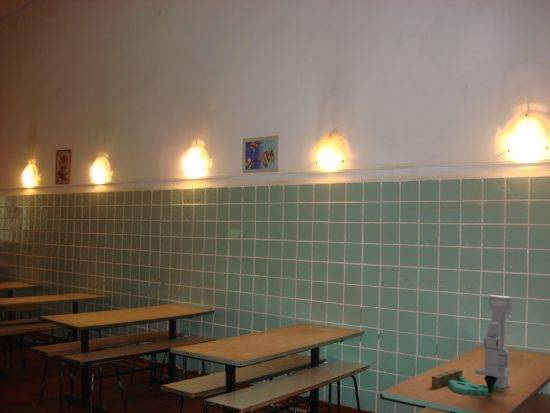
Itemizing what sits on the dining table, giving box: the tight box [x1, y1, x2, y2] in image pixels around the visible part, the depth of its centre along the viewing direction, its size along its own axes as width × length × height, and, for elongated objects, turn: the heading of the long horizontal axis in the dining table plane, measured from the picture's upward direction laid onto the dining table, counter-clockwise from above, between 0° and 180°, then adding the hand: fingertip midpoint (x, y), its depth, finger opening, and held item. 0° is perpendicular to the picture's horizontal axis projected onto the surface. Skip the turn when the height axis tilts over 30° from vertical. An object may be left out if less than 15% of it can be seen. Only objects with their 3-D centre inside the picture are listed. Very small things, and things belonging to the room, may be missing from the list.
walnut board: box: [431, 368, 463, 389], centre depth 272 cm, size 24×3×5 cm, turn 133°
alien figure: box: [446, 376, 501, 397], centre depth 265 cm, size 20×2×20 cm
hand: (490, 392), depth 257 cm, fingers closed, pressing on alien figure
